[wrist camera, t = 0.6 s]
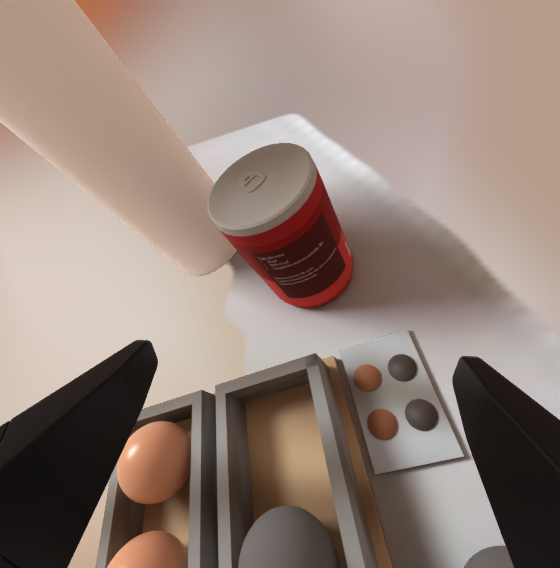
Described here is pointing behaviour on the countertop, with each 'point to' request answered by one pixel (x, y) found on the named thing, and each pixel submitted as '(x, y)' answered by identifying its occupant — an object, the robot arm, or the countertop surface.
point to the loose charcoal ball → (491, 558)
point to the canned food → (283, 224)
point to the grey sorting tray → (291, 453)
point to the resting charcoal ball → (288, 541)
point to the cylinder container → (104, 131)
